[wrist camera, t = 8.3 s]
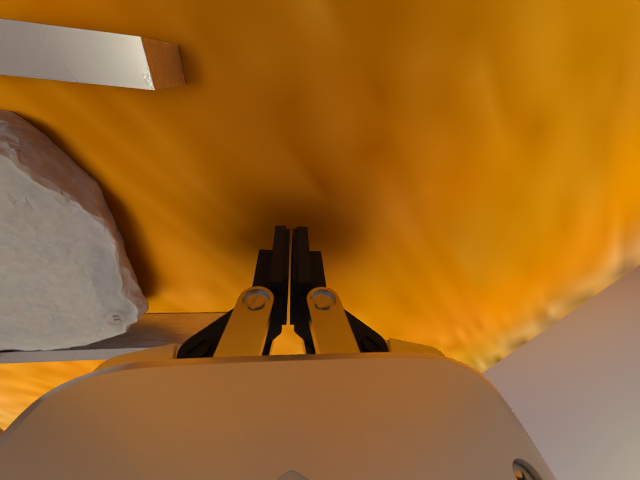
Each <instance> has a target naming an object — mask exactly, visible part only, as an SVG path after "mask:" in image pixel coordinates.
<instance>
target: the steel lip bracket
mask: <svg viewBox="0 0 640 480" xmlns="http://www.w3.org/2000/svg"><path fill="white" fill-rule="evenodd" d="M0 75H9V76H19V77H29V78H39V79H49V80H59V81H69V82H79V83H89V84H98V85H108V86H118V87H128V88H138V89H148V90H159V89H165V88H170V87H176V86H182V85H186V83H185V78H184V73H183V68H182V63H181V58H180V53H179V48H178V44H176V43H170V42H165V41H160V40H155V39H150V38H145V37H140V36H132V35H124V34H116V33H108V32H100V31H93V30H85V29H77V28H69V27H61V26H54V25H46V24H38V23H30V22H22V21H15V20H7V19H0ZM224 314H226V313H176V314H143V316H142V317H141V318H140V319H139V320H138V321H137V322H136V323H133V324H132V325H131V327H130V328H129V329H128V330H127V331H126V332H125V333H123V334H119V335H116V336H113V337H110V338H107V339H104V340H100V341H97V342H94V343H91V344H88V345H85V346H75V347H70V348H61V349H54V350H46V351H42V350H33V351H25V350H14V349H11V350H0V363H25V362H50V361H76V360H102V359H110V358H112V357H115V356H118V355H122V354H127V353H132V352H136V351H141V350H145V349H150V348H154V347H159V346H163V345H168V344H172V343H175V344H176V345H180V344H183V343H184V342H185V341H186V340H187V339H189V338H190V337H192V336H193V335H195V334H196V333H198V332H199V331H201V330H202V329H204V328H205V327H207V326H208V325H210V324H211V323H213V322H214V321H215V320H217V319H218V318H220V317H221V316H223V315H224Z"/></svg>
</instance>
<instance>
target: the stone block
mask: <svg viewBox="0 0 640 480" xmlns="http://www.w3.org/2000/svg"><path fill="white" fill-rule="evenodd" d="M148 309H149V307H148V302H147V299H146V298H145V296H144V294H143V293H142V290H141V287H140V286H139V284H138V283H137V278H136V275H135V272H134V269H133V267H132V265H131V263H130V262H129V259H128V258H127V255H126V251H125V248H124V239H123V237H122V235H121V234H120V232H119V230H118V228H117V225H116V222H115V219H114V217H113V215H112V214H111V211H110V210H109V208H108V206H107V204H106V201H105V199H104V196H103V192H102V189H101V188H100V186H99V185H98V183H97V181H96V180H95V179H93V178H92V177H91V176H89V175H88V174H87V173H86V172H85V171H84V170H82V169H81V168H80V167H79V166H78V165H77V164H76V163H75V162H74V161H73V160H72V159H71V158H70V157H69V156H68V155H67V154H66V153H64V152H63V151H62V150H61V149H60V148H59V147H57V146H56V145H55V144H54V143H53V142H52V141H51V140H50V139H49V138H48V137H47V136H46V135H45V134H43V133H42V132H41V131H39V130H38V129H37V128H35V127H34V126H33V125H32V124H30V123H29V122H28V121H26V120H25V119H23V118H22V117H20V116H19V115H17V114H15V113H13V112H10V111H4V110H0V350H11V349H14V350H25V351H33V350H42V351H46V350H54V349H61V348H70V347H75V346H85V345H88V344H91V343H94V342H97V341H100V340H104V339H107V338H110V337H113V336H116V335H119V334H123V333H125V332H126V331H127V330H128V329H129V328H130V327H131V325H132V324H133V323H136V322H137V321H138V320H139V319H140V318H141V317H142V316H143V314H144V313H146V312H147V310H148Z"/></svg>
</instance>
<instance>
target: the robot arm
mask: <svg viewBox="0 0 640 480" xmlns="http://www.w3.org/2000/svg"><path fill="white" fill-rule="evenodd" d="M289 240H290V229H286V226H275V234H274V243H273V250H261V249H260V250H259V254H258V259H257V265H256V270H255V275H254V281H253V286H252V287H250V288H248V289H246V290H245V291H243V292H242V293H241V295H240V296H239V298H238V300H237V302H236V305H235V307H234V308H233V309H232V310H230V311H229V312H227V313H226V314H224V315H223V316H221V317H220V318H218V319H217V320H215V321H214V322H213V323H211V324H210V325H208V326H207V327H205V328H204V329H202V330H201V331H199V332H198V333H196V334H195V335H193V336H192V337H190V338H189V339H187V340H186V341H185V342H184V343H183V344H180V345H176V344H175V343H172V344H168V345H163V346H159V347H154V348H150V349H145V350H141V351H136V352H132V353H127V354H122V355H118V356H115V357H112V358H110V359H108V360H106V361H105V362H103V363H102V364H100V365H99V366H98V367H97V368H96V369H95V370H94V372H91V373H88V374H86V375H83V376H80V377H78V378H75V379H73V380H70V381H68V382H66V383H64V384H62V385H60V386H58V387H56V388H54V389H52V390H51V391H49V392H47V393H46V394H44V395H42V396H41V397H40V398H39V399H37V400H36V401H35V402H33V403H32V404H31V405H30V406H29V407H28V408H27V409H26V410H24V411H23V412H22V413H21V414H20V415H19V416H18V417H17V418H16V419H15V420H14V421H13V422H12V423H11V425H10V426H9V427H8V428H7V429H6V430H5V431H4V432H3V433H2V434H1V436H0V480H556V478H555V476H554V475H553V473H552V472H551V470H550V468H549V467H548V465H547V463H546V462H545V460H544V458H543V457H542V455H541V454H540V452H539V451H538V449H537V448H536V446H535V445H534V443H533V441H532V440H531V438H530V437H529V435H528V433H527V432H526V430H525V429H524V427H523V426H522V424H521V423H520V421H519V420H518V418H517V417H516V416H515V414H514V412H513V411H512V409H511V408H510V407H509V405H508V404H507V402H506V401H505V400H504V398H503V397H502V396H501V394H500V393H499V392H498V390H497V389H496V388H495V387H494V385H492V383H491V382H490V381H489V380H488V379H487V378H486V377H485V376H484V375H483V374H481V373H480V372H479V371H477V370H476V369H474V368H472V367H470V366H468V365H466V364H464V363H462V362H459V361H457V360H454V359H451V358H448V357H445V355H444V354H443V353H442V352H441V351H439V350H438V349H436V348H434V347H431V346H426V345H421V344H416V343H412V342H407V341H402V340H397V339H392V338H389V340H385V339H383V338H382V337H381V336H380V335H379V334H378V333H376V332H375V331H374V330H372V329H371V328H370V327H368V326H367V325H365V324H364V323H363V322H361V321H360V320H358V319H357V318H356V317H354V316H353V315H351V314H350V313H349V312H347V311H346V310H345V309H343V306H342V304H341V301H340V298H339V296H338V295H337V293H336V292H335V291H333V290H332V289H330V288H326V282H325V276H324V269H323V262H322V255H321V252H320V251H309V242H308V230H307V227H297V229H293V237H292V254H291V279H290V325H294V331H295V333H296V334H298V335H299V336H300V337H301V338H302V346H303V351H304V354H298V355H271V352H272V348H273V343H274V339H275V338H276V337H277V336H278V335H279V334H280V333H281V332H282V325H286V322H287V303H288V283H289Z"/></svg>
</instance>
